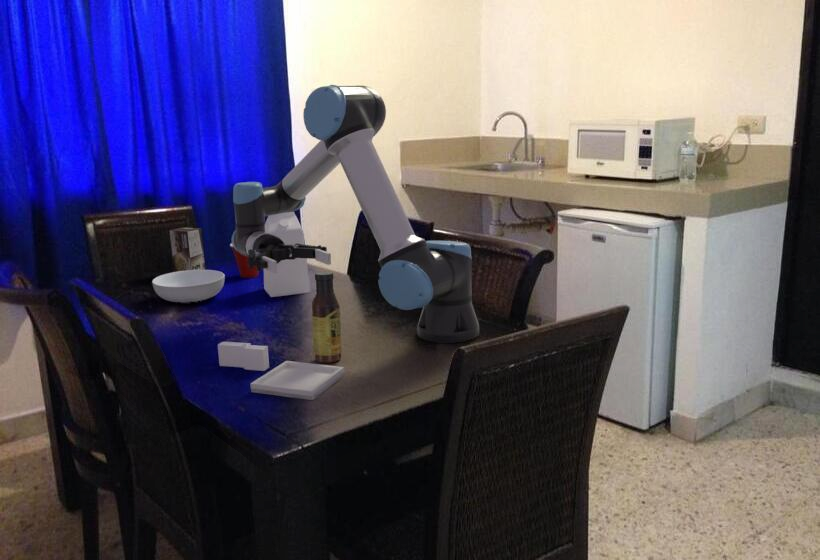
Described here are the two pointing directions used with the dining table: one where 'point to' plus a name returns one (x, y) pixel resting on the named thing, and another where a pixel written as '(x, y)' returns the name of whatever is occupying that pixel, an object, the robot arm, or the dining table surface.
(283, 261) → the milk
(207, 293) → the serving bowl
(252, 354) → the white stepped block
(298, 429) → the dining table surface
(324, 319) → the sauce bottle
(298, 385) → the tray
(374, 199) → the robot arm
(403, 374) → the dining table surface
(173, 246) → the coffee box
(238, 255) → the plastic cup
